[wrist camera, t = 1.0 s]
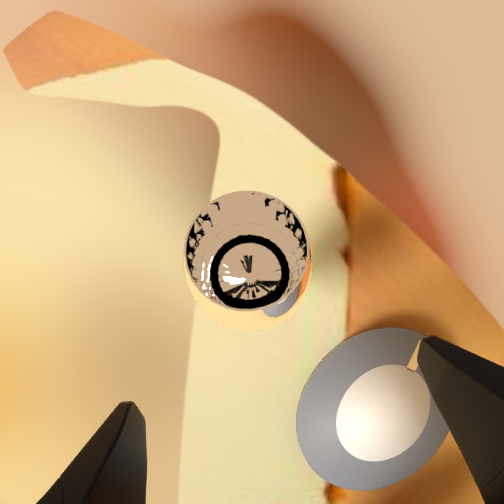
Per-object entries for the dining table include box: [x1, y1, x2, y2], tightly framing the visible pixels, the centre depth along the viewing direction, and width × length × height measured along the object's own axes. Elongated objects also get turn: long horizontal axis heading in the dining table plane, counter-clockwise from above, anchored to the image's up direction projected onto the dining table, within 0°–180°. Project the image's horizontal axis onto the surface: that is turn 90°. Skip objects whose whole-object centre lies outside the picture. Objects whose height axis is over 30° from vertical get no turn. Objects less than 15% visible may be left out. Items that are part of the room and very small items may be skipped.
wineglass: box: [183, 191, 313, 331], centre depth 17 cm, size 6×6×12 cm
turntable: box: [296, 327, 449, 491], centre depth 19 cm, size 13×13×1 cm
